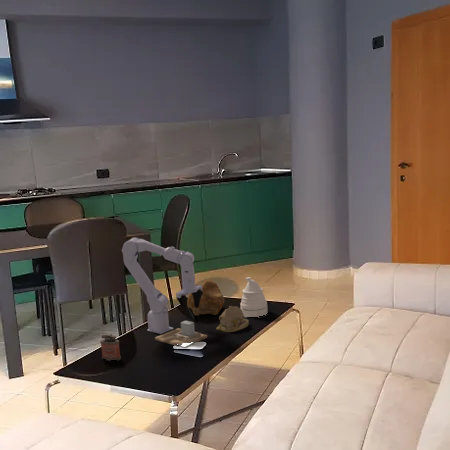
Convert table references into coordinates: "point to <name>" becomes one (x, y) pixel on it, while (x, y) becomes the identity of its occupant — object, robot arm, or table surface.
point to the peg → (187, 328)
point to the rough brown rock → (207, 299)
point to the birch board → (180, 337)
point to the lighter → (110, 347)
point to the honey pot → (253, 300)
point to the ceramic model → (232, 320)
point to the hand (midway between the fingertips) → (190, 309)
